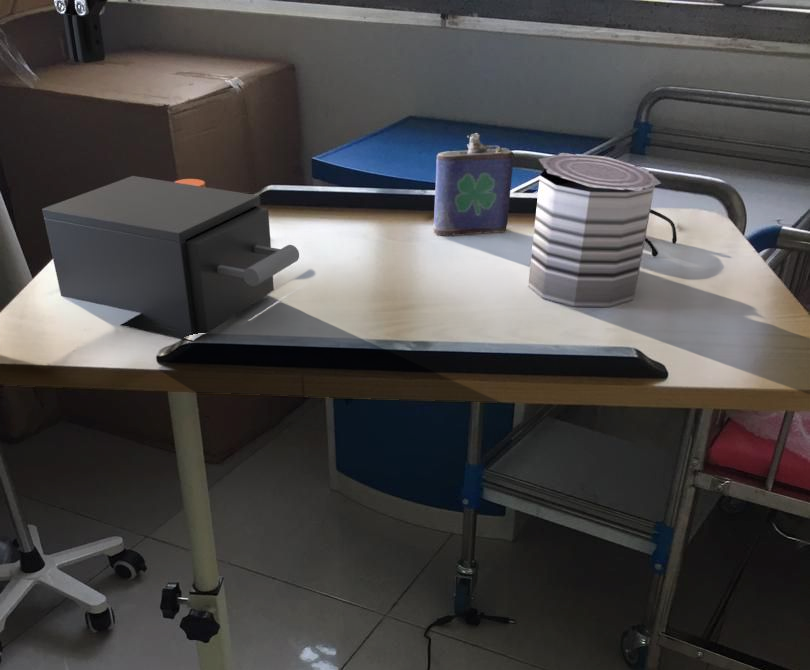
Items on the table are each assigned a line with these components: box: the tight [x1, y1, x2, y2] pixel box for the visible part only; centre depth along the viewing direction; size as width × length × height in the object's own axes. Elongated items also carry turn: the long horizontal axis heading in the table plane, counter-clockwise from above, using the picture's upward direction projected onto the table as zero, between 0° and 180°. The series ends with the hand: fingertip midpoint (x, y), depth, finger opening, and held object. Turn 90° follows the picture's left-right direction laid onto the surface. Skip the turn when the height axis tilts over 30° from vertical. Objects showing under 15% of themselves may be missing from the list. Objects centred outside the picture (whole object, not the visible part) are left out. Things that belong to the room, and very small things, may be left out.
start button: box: [174, 178, 206, 187], centre depth 102 cm, size 4×4×2 cm
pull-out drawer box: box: [185, 207, 300, 333], centre depth 82 cm, size 18×11×8 cm, turn 66°
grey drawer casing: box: [41, 175, 267, 340], centre depth 83 cm, size 15×13×10 cm
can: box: [527, 152, 662, 308], centre depth 88 cm, size 11×11×12 cm
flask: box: [432, 132, 515, 237], centre depth 103 cm, size 9×3×11 cm, turn 105°
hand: (88, 60), depth 87 cm, fingers closed
